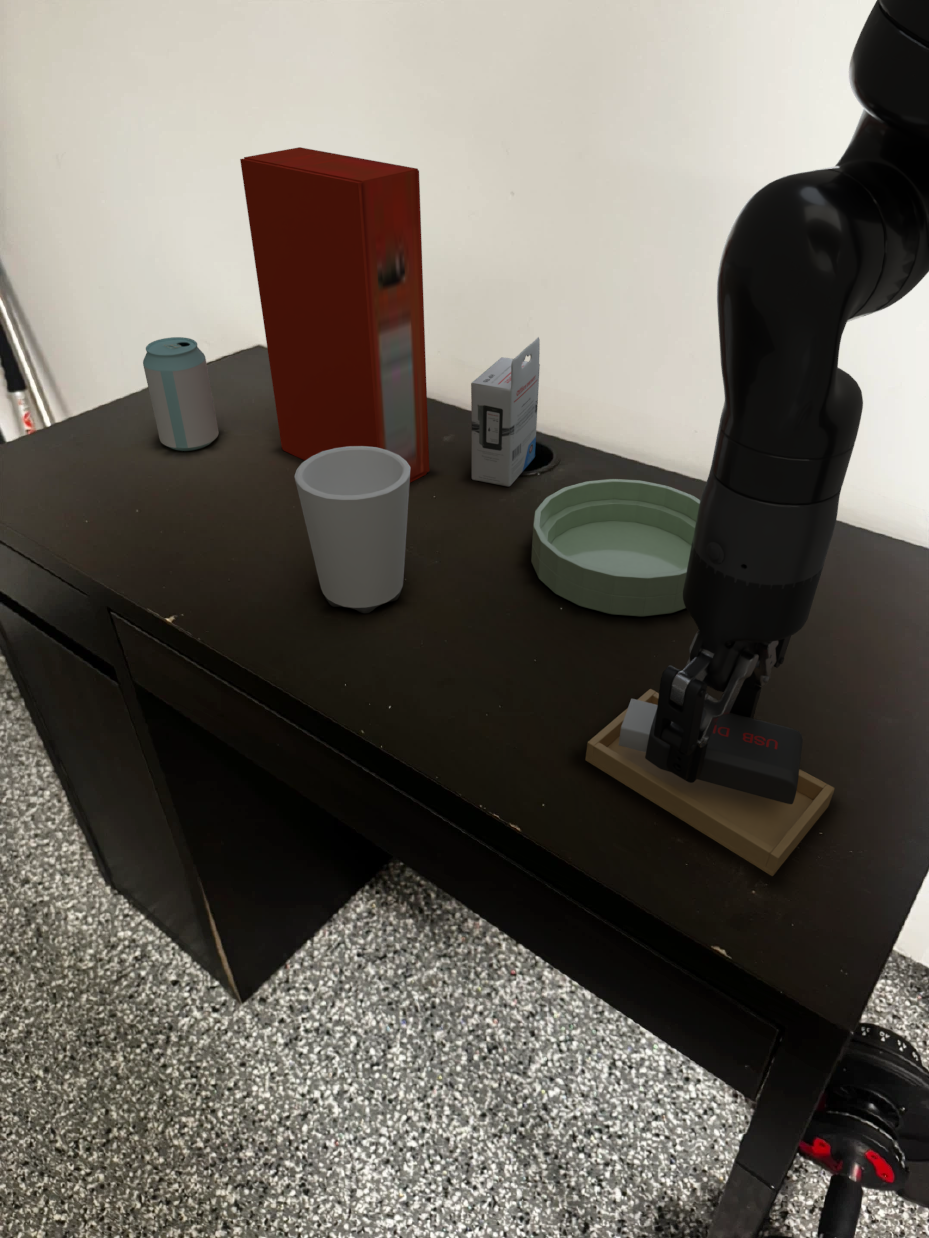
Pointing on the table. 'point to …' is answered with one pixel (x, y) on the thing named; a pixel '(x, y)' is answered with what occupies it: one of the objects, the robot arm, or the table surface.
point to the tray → (716, 801)
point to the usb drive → (728, 751)
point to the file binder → (341, 300)
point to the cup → (356, 523)
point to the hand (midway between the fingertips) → (709, 746)
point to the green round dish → (616, 545)
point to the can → (180, 393)
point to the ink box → (505, 417)
